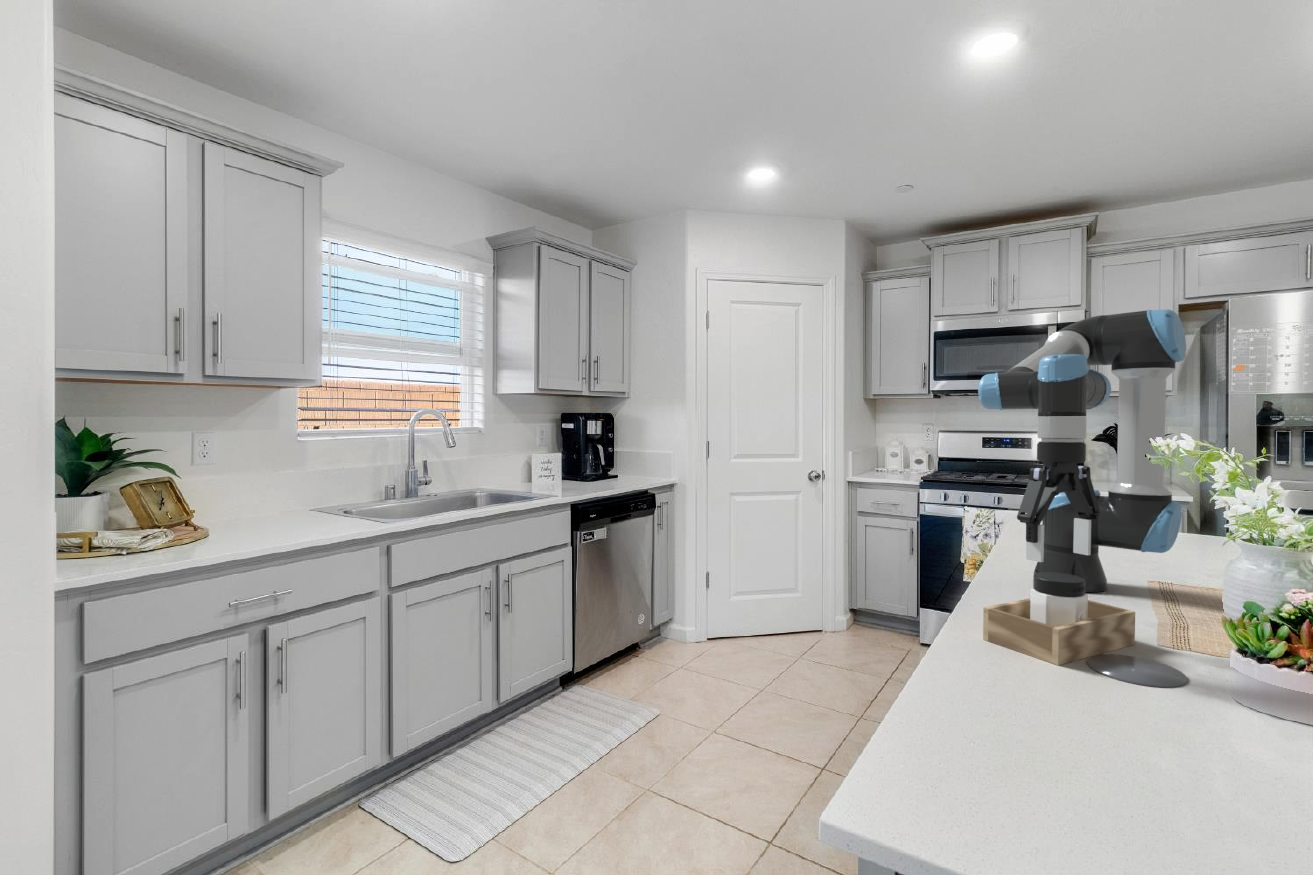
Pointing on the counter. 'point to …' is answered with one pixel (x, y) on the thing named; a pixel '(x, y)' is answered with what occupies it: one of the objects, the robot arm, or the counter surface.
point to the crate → (1059, 632)
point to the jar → (1058, 599)
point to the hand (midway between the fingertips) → (1058, 557)
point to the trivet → (1137, 670)
